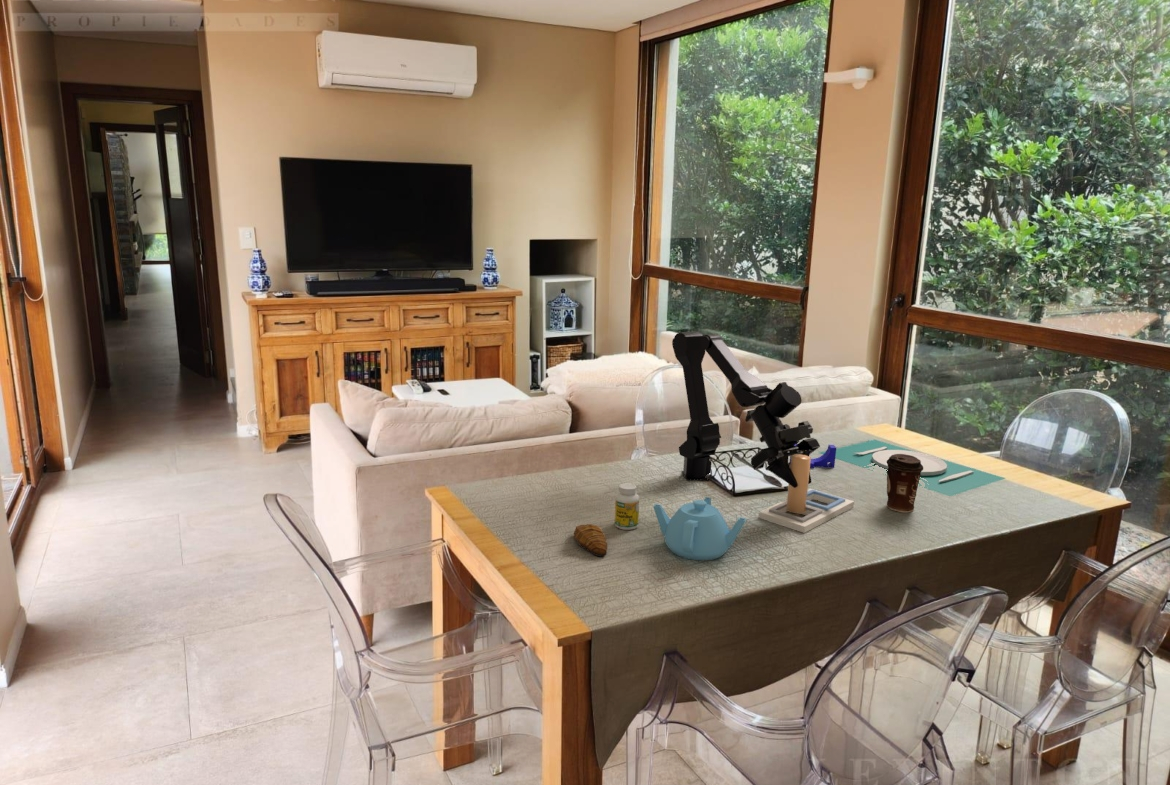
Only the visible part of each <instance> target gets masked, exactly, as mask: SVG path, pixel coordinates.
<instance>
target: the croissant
mask: <svg viewBox="0 0 1170 785" xmlns="http://www.w3.org/2000/svg"><path fill="white" fill-rule="evenodd" d="M573 537H574V539H575V540H576V542H577V543H578V544H579V546H580V547H581V548H583V549H585V550H587V551H588V552H589V553H591V554H593V555H595V556H599V557H604V556H606V554H607V550H608V542H607V538H606V535H605V533H604V532H603V530H602V528H601V527H600V526H598V525H595V524H591V523H587V524H578V525H577V526H575V529H574V531H573Z"/></svg>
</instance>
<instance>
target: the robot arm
mask: <svg viewBox="0 0 1170 785" xmlns="http://www.w3.org/2000/svg"><path fill="white" fill-rule="evenodd" d="M671 343H672V344H671V345H672V349H673V354H674V356H675V359H676V360H677V361H678V362H679V363H680V365H681V367H682V370H683V372H682V373H683V378H684V384H685V391H686V398H687V404H688V410H689V417H690V421H689V424H688V426H687V429H686V440H685V441H684V442H682V444H680V446H678V451H679V455H680V456H681V457H683V470H681V475H682V477H684V479H685V480H686V481H708V480H707V478H705V476H706V475H707V474H709V473H712V460H711V459H710V457H711V456H714V455H715V454H716V451H717V448H718V447H719V446H720V443H721V441H720V440H721V439H722V436H721V433H720V424H719V422H713V420H712V419H711V417H710V413H709V408H708V400H707V393H706V387H705V381H704V380H705V378H704V373H703V366H702V364H703V363H702V362H703V360H704V357H705V354H706V353H707V355H709V357H710V358H711V359H712V361H713V362H714V363H715V365H716V366H717V367H718V369H719V370H720V371H721V372H722V374H723V375H724V376H725V378H726V379H727V380H728V381H729V383H730V385H731V393H732V394H733V397H734V398H735V400H736V402H737V404H739V406H740V407H743V408H749V407H755V406H756V407H755V408H754V409H749V410H747V412H746V416H745V419H744V421H745V422H746V423H749V422H753V423H754V425H755V427H757V430H758V432H759V434H760V435H761V437H760V438H759V441H760V442H761V443H764V442H765V444H766V447H764V448H762V449H760V450H759V451H758V452H756V453H755V454H754V455H753V456H752V457H751V458H750V464H751V466H752V468H753V470H756V471H757V470H760V469H763V468H764V466H765V463H766V462H767V465H768V466H766V467H765V470H766V471H769V472H771V473H772V474H774V475H776V476H777V477H779V478H780V479H781V480H783V481H784V482H786V483H788V485H789V484H790V485H791V486H793V487H794V488H796V487H797V486H798V484H797V481H796V479H795V477H794V475H793V473H792V471H791V469H790V465H791V462H790V461H789V458H790V457H791V456H792V455H795V454H800V455H806V456H809V457H810V455H811V454H812V453H814V452H815V451H817V450H818V449H819V448H820V447H821V445H820V443H819V441H818V439H817V438H814V437H811V434H813V432H814V428H813V426H812V425H811V423H810V421H809V420H805V421H800V422H798V425H797V426H795V427H791V426H790V425H789V424H788V423H787V424H783V422H782V420H781V419H784V418H786V417H787V416H788V415H789V414H790V413H792V412H793V411H794V410H795V409H796V408H798V407H799V406H800V405H801V403H802V396H801V394H800V393H799V391H797V390H796V389H795V388H794V387H793V386H790V385H788V384H787V382H786V381H783V382H779V383H778V384H777V385H775V387H774V388H773V389H772V388H770V387H768V386H767V384H766V383H764V381H763V380H762V379H760V377H758V376H756V375H755V374H752V373H750V372H749V371H747V369H746V368H745V367H744V366H743V365H742V363H741V362H740V361H739V359H738V358H737V357H736V356H735V354H734V353H733V352H732V351H731V349H730V348H729V347H728V346H727V344H726V343H725V342H724V339H723V337H722V336H721V335H720V334H718V333H711V334H702V333H701V332H700V331H698V330H694V331H684V332H683V331H682V332H678V333H676V334H675V335H674V337H673V338H672V342H671ZM795 444H797V445H796V446H794V445H795ZM811 483H812V477H811V471H809V481H808V485H810V484H811Z"/></svg>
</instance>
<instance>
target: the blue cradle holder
mask: <svg viewBox="0 0 1170 785" xmlns="http://www.w3.org/2000/svg"><path fill="white" fill-rule="evenodd" d="M797 444H798V443H797ZM797 444H795V445H794V446H796V445H797ZM836 449H837V447H836V445H835V444H828V446H827V448H826V450H825V451H826V452H825V453H824V454H821V456H819V457H816V458H811V462H810V469H815V468H830V469H831V468H832V469H833V468H835V463H836V459H835V456H836ZM790 462H791V457H790V456H789V463H790Z"/></svg>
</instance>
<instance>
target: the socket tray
mask: <svg viewBox="0 0 1170 785" xmlns="http://www.w3.org/2000/svg"><path fill="white" fill-rule="evenodd" d="M812 500H814V501H817V500H818V501H817V502H821V503H825V504H827V505H824V504H820V503H817V502H814V501H812ZM786 506H787V498H786V499H785V500H781V501H779V502H778V503H775V504H773V505H771V506H769V507H767V508H765V509H762V510H760V511H759V512H758V519H761V520H763V521H767V522H770V523H774V524H776V525H779V526H782V527H785V528H788V529H792V530H795V531H796V532H797V531H798V532H801V533H802V534H803V533H804V534H806V533H808V532H809V531H811V530H812V529H815V528H816V527H819V526H820V525H822V524H824V523H826V522H828V521H830V520H832V519H833V517H834V518H836V517H837V516H839V515H841V514H843V513H845V512H847V511H849V510H851V509H853V508H854V506H855V501H854V500H852V499H848V498H844V497H841V496H838V495H835V494H831V493H829V492H824V491H821V490H816V489H814V488H808V491H807V500H806V510H805V512H804V513H798V514H800V515H802V516H803V517H800V516H796V515H793V514H791V513H787V512H789V511H788V510H787V509H786ZM835 516H836V517H835ZM831 518H832V519H831Z"/></svg>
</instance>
